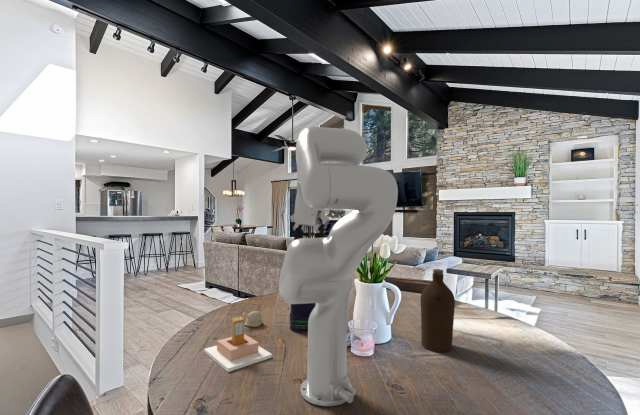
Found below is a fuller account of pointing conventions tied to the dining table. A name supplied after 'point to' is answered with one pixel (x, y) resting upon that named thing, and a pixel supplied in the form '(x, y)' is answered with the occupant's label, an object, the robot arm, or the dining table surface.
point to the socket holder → (237, 353)
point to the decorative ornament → (253, 319)
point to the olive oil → (437, 314)
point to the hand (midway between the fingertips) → (308, 244)
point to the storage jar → (300, 317)
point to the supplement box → (237, 331)
